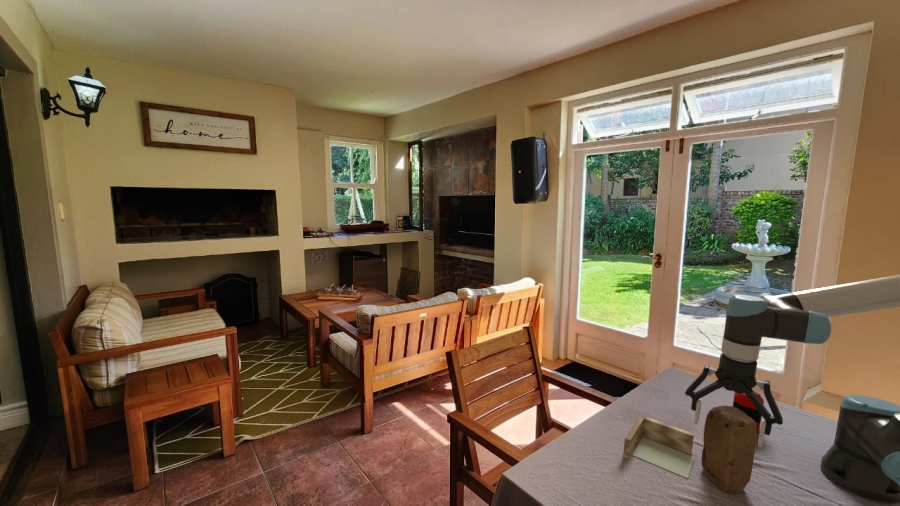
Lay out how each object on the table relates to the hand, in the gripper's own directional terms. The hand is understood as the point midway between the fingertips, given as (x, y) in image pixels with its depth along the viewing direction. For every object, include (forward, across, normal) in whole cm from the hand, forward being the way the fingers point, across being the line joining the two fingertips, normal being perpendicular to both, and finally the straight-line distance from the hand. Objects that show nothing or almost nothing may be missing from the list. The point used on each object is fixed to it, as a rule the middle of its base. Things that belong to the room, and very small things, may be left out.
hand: (726, 432), depth 100 cm
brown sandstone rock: (+14, 0, 0) cm, 14 cm away
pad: (+14, +14, 0) cm, 19 cm away
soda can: (+14, -4, -34) cm, 37 cm away
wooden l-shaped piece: (+14, +15, 0) cm, 20 cm away
